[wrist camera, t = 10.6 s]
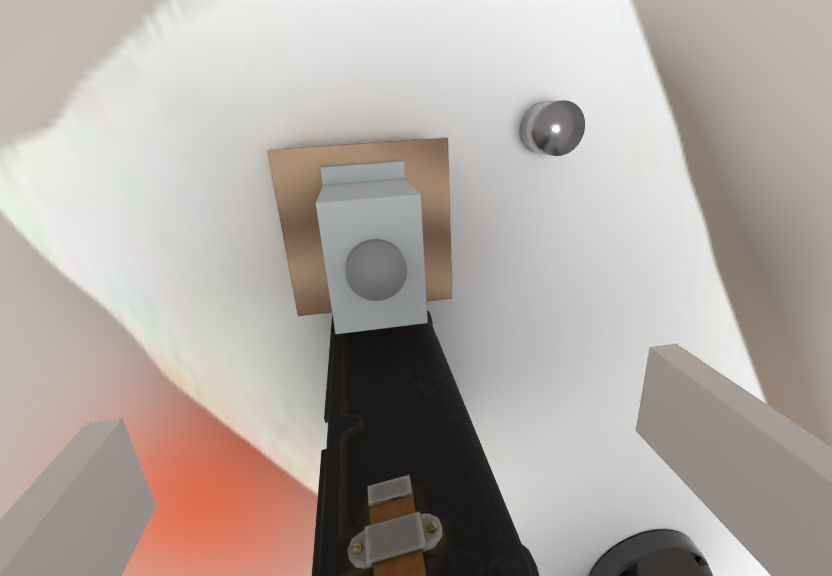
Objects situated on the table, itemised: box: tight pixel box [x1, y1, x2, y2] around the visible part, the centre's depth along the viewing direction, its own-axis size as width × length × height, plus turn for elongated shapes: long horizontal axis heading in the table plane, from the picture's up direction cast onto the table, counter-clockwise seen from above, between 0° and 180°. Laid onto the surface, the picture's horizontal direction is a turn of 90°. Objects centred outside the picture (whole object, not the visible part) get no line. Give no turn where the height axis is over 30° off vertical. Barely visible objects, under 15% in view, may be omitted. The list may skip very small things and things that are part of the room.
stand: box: [268, 138, 452, 316], centre depth 30 cm, size 11×11×5 cm
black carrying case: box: [312, 311, 539, 576], centre depth 26 cm, size 16×9×25 cm, turn 11°
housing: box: [316, 160, 428, 334], centre depth 24 cm, size 9×5×8 cm, turn 3°
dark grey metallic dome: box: [520, 101, 585, 156], centre depth 30 cm, size 4×4×3 cm
